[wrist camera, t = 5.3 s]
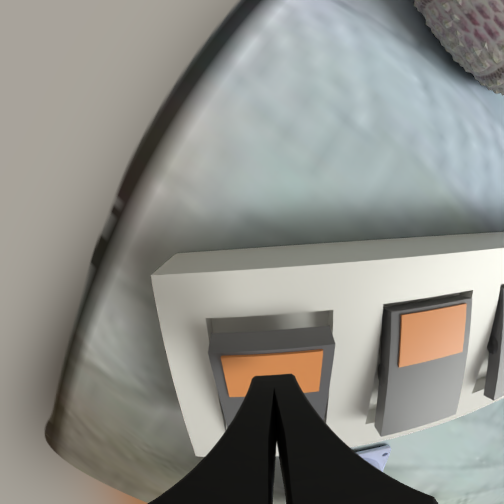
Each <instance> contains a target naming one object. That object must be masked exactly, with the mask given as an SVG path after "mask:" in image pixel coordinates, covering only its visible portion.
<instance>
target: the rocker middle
mask: <svg viewBox="0 0 504 504" xmlns="http://www.w3.org/2000/svg"><path fill="white" fill-rule="evenodd" d="M471 312H472V298H470V297H466V296H462V295H457V296H451V297H445V298H440V299H434V300H427V301H421V302H415V303H408V304H401V305H394V306H387V307H383V314H382V336H381V359H380V364H379V366H378V379H379V386H378V397H377V407H376V415H375V423H374V426H375V428H376V430H377V431H378V433H379V435H380V436H381V437H382V436H387V435H391V434H395V433H399V432H402V431H406V430H410V429H413V428H417V427H420V426H423V425H426V424H430V423H433V422H436V421H439V420H442V419H444V418H447V417H450V416H453V415H456V412H457V408H458V403H459V399H460V394H461V389H462V384H463V379H464V373H465V367H466V360H467V353H468V345H469V336H470V325H471Z"/></svg>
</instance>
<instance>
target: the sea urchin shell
mask: <svg viewBox="0 0 504 504" xmlns="http://www.w3.org/2000/svg"><path fill="white" fill-rule="evenodd" d="M414 6H415V7H416V8H417V11H419V12H420V13H422V14H423V16H424V17H425V19H426V24H425V25H427V26H428V27H430V28H431V31H432V33H433V34H434V35H435V37H436V38H437V39H439V40H440V43H441V45H442V46H444V47H445V49H446V51H447V52H449V53H450V54H451V55H452V56H453V61H456V62H458V63H459V64H460V66H462V67H464V69H465V71H466V72H470V73H472V74H473V76H474V78H475V80H478V81H479V82H480V84H481V85H484V86H486V87H487V88H488V90H493V91H494V93H495V94H498V93H501V94H502V95H504V0H414Z"/></svg>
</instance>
